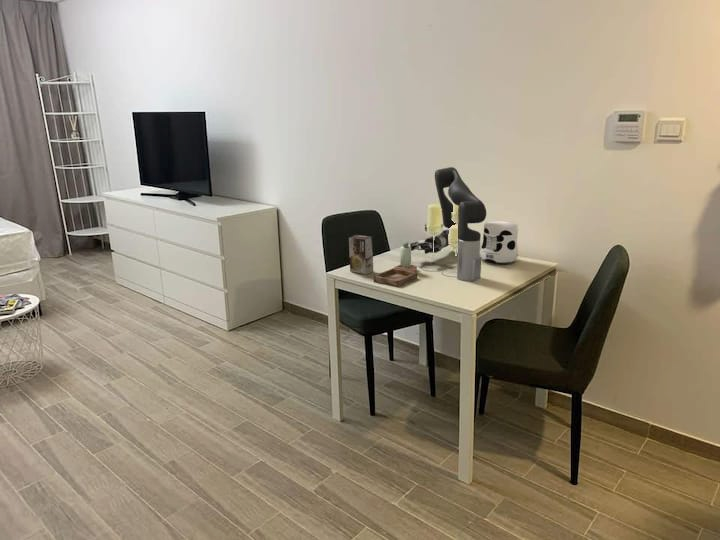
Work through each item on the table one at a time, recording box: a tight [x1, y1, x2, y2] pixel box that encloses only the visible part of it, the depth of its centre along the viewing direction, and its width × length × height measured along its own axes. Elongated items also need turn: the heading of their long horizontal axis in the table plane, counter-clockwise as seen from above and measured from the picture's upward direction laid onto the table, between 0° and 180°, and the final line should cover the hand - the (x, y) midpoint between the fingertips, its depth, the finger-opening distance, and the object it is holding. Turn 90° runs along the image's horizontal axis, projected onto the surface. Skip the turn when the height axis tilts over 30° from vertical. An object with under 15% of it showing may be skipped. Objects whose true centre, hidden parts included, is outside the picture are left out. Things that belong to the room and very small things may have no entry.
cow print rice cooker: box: [480, 220, 519, 265], centre depth 255 cm, size 17×17×18 cm
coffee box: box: [348, 234, 374, 275], centre depth 244 cm, size 9×6×16 cm
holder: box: [393, 264, 418, 272], centre depth 245 cm, size 7×7×2 cm
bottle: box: [399, 241, 412, 269], centre depth 244 cm, size 5×5×13 cm
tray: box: [373, 267, 418, 288], centre depth 232 cm, size 13×15×2 cm
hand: (417, 250), depth 251 cm, fingers open, 8 cm apart
